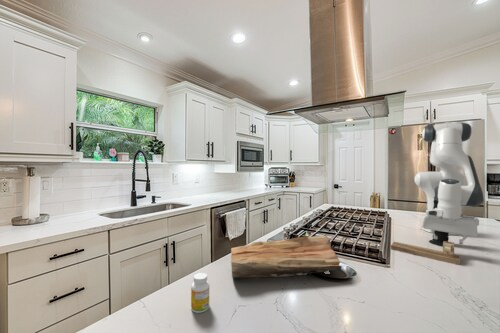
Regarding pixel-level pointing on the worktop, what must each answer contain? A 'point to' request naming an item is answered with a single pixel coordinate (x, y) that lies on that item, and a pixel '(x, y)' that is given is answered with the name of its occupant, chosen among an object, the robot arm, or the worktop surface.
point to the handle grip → (439, 233)
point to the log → (284, 258)
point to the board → (426, 252)
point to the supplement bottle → (200, 293)
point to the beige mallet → (448, 247)
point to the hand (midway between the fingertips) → (448, 241)
